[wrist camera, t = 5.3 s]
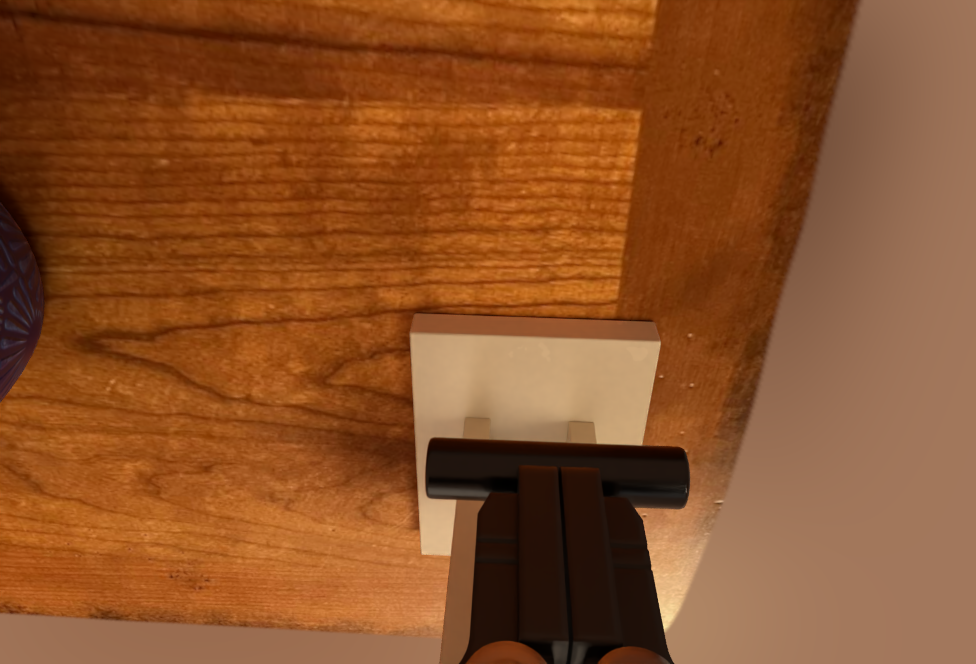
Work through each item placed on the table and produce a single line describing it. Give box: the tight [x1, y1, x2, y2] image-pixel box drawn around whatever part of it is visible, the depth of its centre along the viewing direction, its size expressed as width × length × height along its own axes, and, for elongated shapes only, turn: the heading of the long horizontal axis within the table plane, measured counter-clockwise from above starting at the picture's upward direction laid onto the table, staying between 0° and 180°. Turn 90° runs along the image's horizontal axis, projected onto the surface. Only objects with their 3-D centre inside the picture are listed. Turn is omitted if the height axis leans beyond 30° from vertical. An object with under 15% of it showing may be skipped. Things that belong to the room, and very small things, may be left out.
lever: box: [425, 437, 690, 509], centre depth 16 cm, size 12×5×2 cm, turn 179°
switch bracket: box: [409, 313, 661, 664], centre depth 23 cm, size 12×9×15 cm
